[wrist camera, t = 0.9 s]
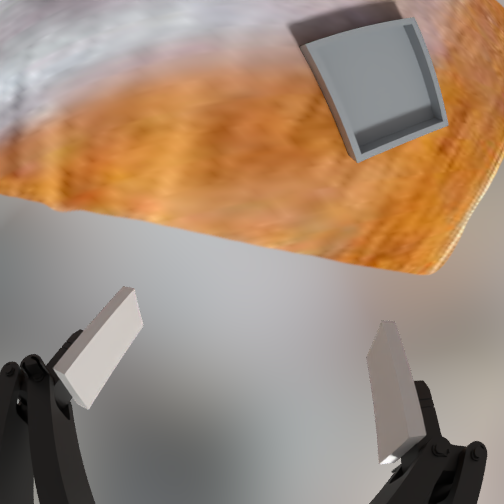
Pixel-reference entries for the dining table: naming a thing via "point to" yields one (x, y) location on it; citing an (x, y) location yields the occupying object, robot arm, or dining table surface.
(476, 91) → the dining table surface
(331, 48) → the box
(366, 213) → the dining table surface
